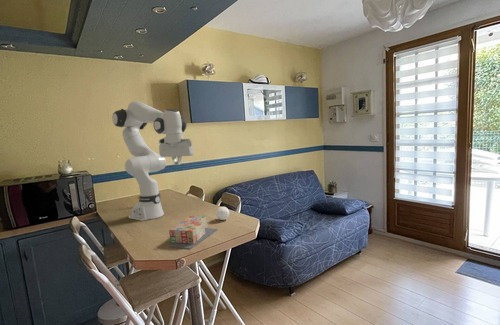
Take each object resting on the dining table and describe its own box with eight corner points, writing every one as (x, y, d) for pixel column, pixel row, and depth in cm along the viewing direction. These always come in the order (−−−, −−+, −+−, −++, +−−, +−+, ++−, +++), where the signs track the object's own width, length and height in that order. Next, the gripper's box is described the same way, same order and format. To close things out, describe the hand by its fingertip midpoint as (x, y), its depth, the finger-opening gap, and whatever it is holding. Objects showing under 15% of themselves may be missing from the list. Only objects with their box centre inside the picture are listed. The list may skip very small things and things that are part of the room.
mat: (168, 246, 122) (168, 245, 122) (198, 227, 144) (198, 227, 144) (190, 249, 117) (190, 248, 117) (217, 229, 139) (217, 228, 139)
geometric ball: (222, 223, 157) (224, 210, 161) (231, 220, 152) (232, 207, 156) (212, 219, 152) (213, 206, 157) (221, 216, 147) (222, 203, 151)
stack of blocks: (190, 215, 144) (211, 215, 141) (191, 226, 145) (212, 227, 142) (168, 230, 124) (192, 230, 121) (170, 243, 125) (194, 244, 121)
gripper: (194, 138, 143) (196, 163, 145) (164, 140, 151) (166, 164, 153) (187, 138, 137) (189, 165, 139) (156, 140, 146) (159, 165, 147)
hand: (177, 164), depth 146 cm, fingers closed
